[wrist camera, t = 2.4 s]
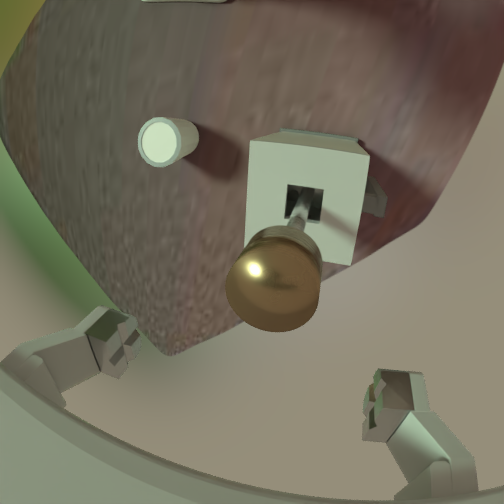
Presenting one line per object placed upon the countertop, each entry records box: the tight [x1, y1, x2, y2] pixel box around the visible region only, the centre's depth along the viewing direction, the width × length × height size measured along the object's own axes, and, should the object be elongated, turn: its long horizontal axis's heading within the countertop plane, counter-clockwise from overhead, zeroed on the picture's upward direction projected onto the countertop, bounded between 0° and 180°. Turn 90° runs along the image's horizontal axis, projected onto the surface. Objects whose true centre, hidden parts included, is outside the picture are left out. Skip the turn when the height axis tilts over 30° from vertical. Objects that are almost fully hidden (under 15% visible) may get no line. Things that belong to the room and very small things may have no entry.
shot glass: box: [138, 117, 199, 167], centre depth 40 cm, size 7×7×7 cm
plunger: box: [225, 184, 324, 332], centre depth 22 cm, size 7×7×20 cm
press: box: [244, 128, 388, 265], centre depth 32 cm, size 13×10×18 cm
